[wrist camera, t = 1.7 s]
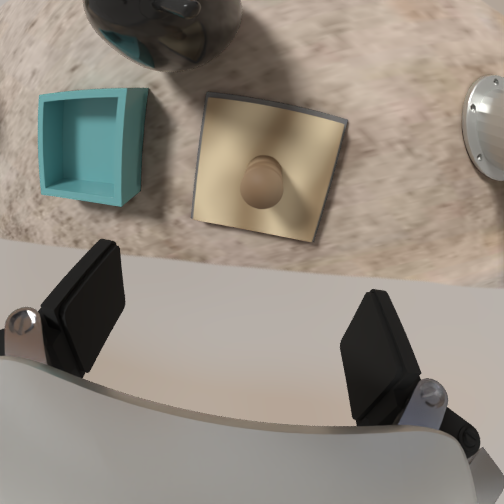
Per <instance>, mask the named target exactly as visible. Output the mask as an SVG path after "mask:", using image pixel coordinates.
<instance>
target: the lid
mask: <svg viewBox="0 0 504 504" xmlns="http://www.w3.org/2000/svg"><path fill="white" fill-rule="evenodd" d="M344 125H345V124H342V123H339V122H335V121H332V120H328V119H324V118H321V117H317V116H313V115H309V114H304V113H300V112H296V111H291V110H287V109H282V108H277V107H272V106H266V105H261V104H255V103H249V102H243V101H236V100H229V99H221V98H213V97H208V102H207V108H206V115H205V122H204V129H203V136H202V143H201V151H200V159H199V167H198V175H197V184H196V194H195V204H194V214H193V220H198V221H203V222H209V223H214V224H220V225H225V226H230V227H236V228H241V229H246V230H251V231H257V232H262V233H267V234H272V235H277V236H282V237H287V238H292V239H297V240H302V241H307V242H312V240H313V237H314V233H315V230H316V227H317V224H318V220H319V217H320V213H321V210H322V207H323V203H324V200H325V196H326V193H327V189H328V186H329V182H330V178H331V175H332V171H333V167H334V164H335V160H336V156H337V152H338V148H339V145H340V141H341V137H342V133H343V129H344Z"/></svg>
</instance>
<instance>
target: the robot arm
mask: <svg viewBox="0 0 504 504" xmlns="http://www.w3.org/2000/svg"><path fill="white" fill-rule="evenodd" d="M462 129H463V136H464V141H465V145H466V148H467V151H468V153H469V156H470V158H471V160H472V161H473V163H474V165H475V166H476V167H477V168H478V169H479V171H480V172H482V173H483V174H484V175H486V176H487V177H489V178H491V179H493V180H497V181H504V77H501V76H497V75H485V76H482V77H480V78H478V79H477V80H476V81H475V82H474V83H473V84H472V85H471V87H470V88H469V90H468V92H467V95H466V97H465V101H464V105H463V113H462ZM124 307H125V294H124V287H123V277H122V268H121V256H120V248H119V246H117V245H116V242H114V241H111V240H106V239H100V240H99V241H98V242H97V243H96V244H95V245H94V246H93V247H92V248H91V249H90V250H89V251H88V252H87V253H86V254H85V255H84V256H83V257H82V258H81V260H80V261H79V262H78V263H77V264H76V265H75V266H74V267H73V268H72V269H71V270H70V271H69V273H68V274H67V275H66V276H65V277H64V278H63V279H62V280H61V282H60V283H59V284H58V285H57V286H56V288H55V289H54V290H53V291H52V292H51V293H50V294H49V296H48V297H47V298H46V299H45V300H44V302H43V303H42V304H41V308H40V310H39V311H37V310H35V309H34V308H31V307H22V308H19V309H17V310H15V311H13V312H12V313H11V314H10V315H9V316H8V318H7V320H6V322H5V328H4V329H2V330H0V504H495V502H496V501H497V499H498V497H499V496H500V494H501V493H502V491H503V488H504V475H503V473H502V472H501V470H500V469H499V468H498V466H497V465H496V464H495V462H494V461H493V460H492V458H491V457H490V456H489V454H488V453H487V452H486V450H485V449H484V448H483V447H482V448H480V449H479V447H480V437H479V434H478V432H477V430H476V429H475V428H474V427H473V426H472V425H471V424H469V423H468V422H467V421H465V420H464V419H463V418H461V417H460V416H458V415H457V414H456V413H454V412H453V411H451V410H450V409H449V408H448V407H447V404H448V396H447V393H446V390H445V389H444V388H443V386H442V385H441V384H440V383H439V382H437V381H435V380H433V379H429V378H426V379H422V380H421V379H420V376H419V375H420V374H421V371H420V368H419V366H418V363H417V360H416V358H415V355H414V353H413V350H412V348H411V345H410V343H409V340H408V338H407V336H406V333H405V331H404V329H403V326H402V324H401V322H400V319H399V317H398V315H397V313H396V310H395V308H394V306H393V304H392V302H391V299H390V297H389V295H388V293H387V292H386V291H382V290H375V289H372V290H371V291H370V292H367V293H366V294H365V295H364V298H363V300H362V302H361V304H360V306H359V308H358V309H357V311H356V313H355V315H354V318H353V320H352V321H351V323H350V325H349V327H348V329H347V330H346V332H345V334H344V336H343V338H342V340H341V343H340V350H341V356H342V361H343V366H344V372H345V376H346V382H347V388H348V394H349V400H350V406H351V412H352V417H353V419H355V420H356V424H357V426H303V425H288V424H276V423H266V422H257V421H248V420H241V419H234V418H228V417H222V416H216V415H210V414H205V413H200V412H195V411H190V410H186V409H181V408H177V407H173V406H169V405H165V404H160V403H157V402H153V401H149V400H146V399H142V398H139V397H135V396H132V395H129V394H126V393H122V392H119V391H116V390H113V389H110V388H107V387H104V386H102V385H99V384H96V383H93V382H90V381H88V380H85V379H82V378H83V376H84V374H85V372H86V373H88V372H89V371H90V370H91V368H92V366H93V364H94V362H95V360H96V358H97V356H98V355H99V353H100V351H101V349H102V347H103V345H104V343H105V341H106V340H107V338H108V336H109V334H110V332H111V330H112V329H113V327H114V325H115V323H116V322H117V320H118V318H119V316H120V315H121V313H122V311H123V309H124Z"/></svg>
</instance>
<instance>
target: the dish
mask: <svg viewBox="0 0 504 504" xmlns="http://www.w3.org/2000/svg"><path fill="white" fill-rule="evenodd" d="M148 89H149V88H105V89H87V90H75V91H65V92H57V93H50V94H43V95H39V107H38V158H39V175H40V186H41V194H42V195H49V196H56V197H62V198H69V199H75V200H82V201H88V202H95V203H101V204H107V205H114V206H120V207H122V206H123V205H124V204H125V203H127V202H128V201H129V200H130V199H131V198H133V197H134V196H135V195H136V194H137V193H139V192H140V191H141V167H142V149H143V136H144V124H145V114H146V105H147V97H148Z"/></svg>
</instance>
